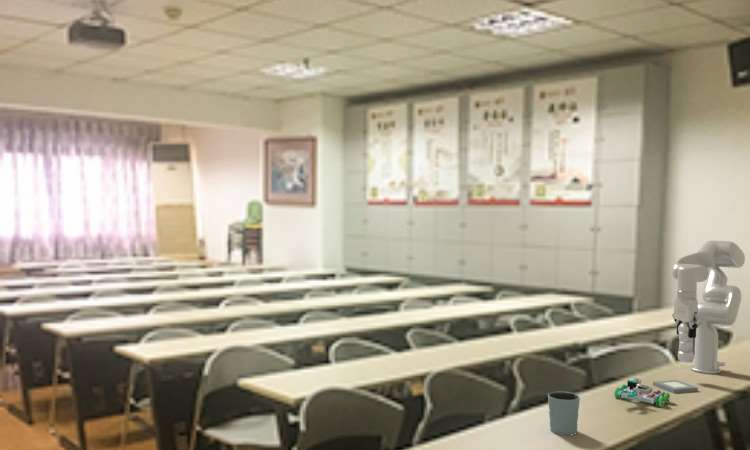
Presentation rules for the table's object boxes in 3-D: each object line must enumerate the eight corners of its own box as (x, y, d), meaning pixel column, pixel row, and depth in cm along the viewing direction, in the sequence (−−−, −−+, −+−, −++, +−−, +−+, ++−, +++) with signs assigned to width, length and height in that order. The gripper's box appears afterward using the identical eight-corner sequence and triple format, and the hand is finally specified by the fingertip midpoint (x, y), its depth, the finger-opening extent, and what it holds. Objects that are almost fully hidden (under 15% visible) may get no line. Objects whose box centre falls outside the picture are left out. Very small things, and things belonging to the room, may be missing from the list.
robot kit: (601, 405, 248) (601, 381, 247) (625, 392, 267) (625, 369, 266) (651, 416, 236) (652, 390, 235) (673, 401, 255) (673, 377, 254)
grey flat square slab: (676, 383, 280) (676, 380, 280) (697, 391, 268) (697, 387, 268) (653, 385, 276) (653, 381, 276) (673, 393, 265) (673, 389, 265)
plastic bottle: (690, 360, 287) (690, 315, 286) (696, 364, 281) (697, 318, 280) (675, 360, 288) (675, 315, 287) (680, 364, 281) (681, 318, 280)
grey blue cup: (585, 433, 216) (586, 397, 216) (564, 438, 210) (565, 401, 210) (561, 424, 224) (562, 389, 224) (540, 429, 219) (541, 393, 219)
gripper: (665, 292, 290) (664, 332, 291) (695, 298, 273) (694, 341, 274) (679, 291, 292) (678, 331, 293) (709, 297, 276) (708, 339, 277)
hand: (686, 335), depth 284 cm, fingers closed on plastic bottle, 6 cm apart
